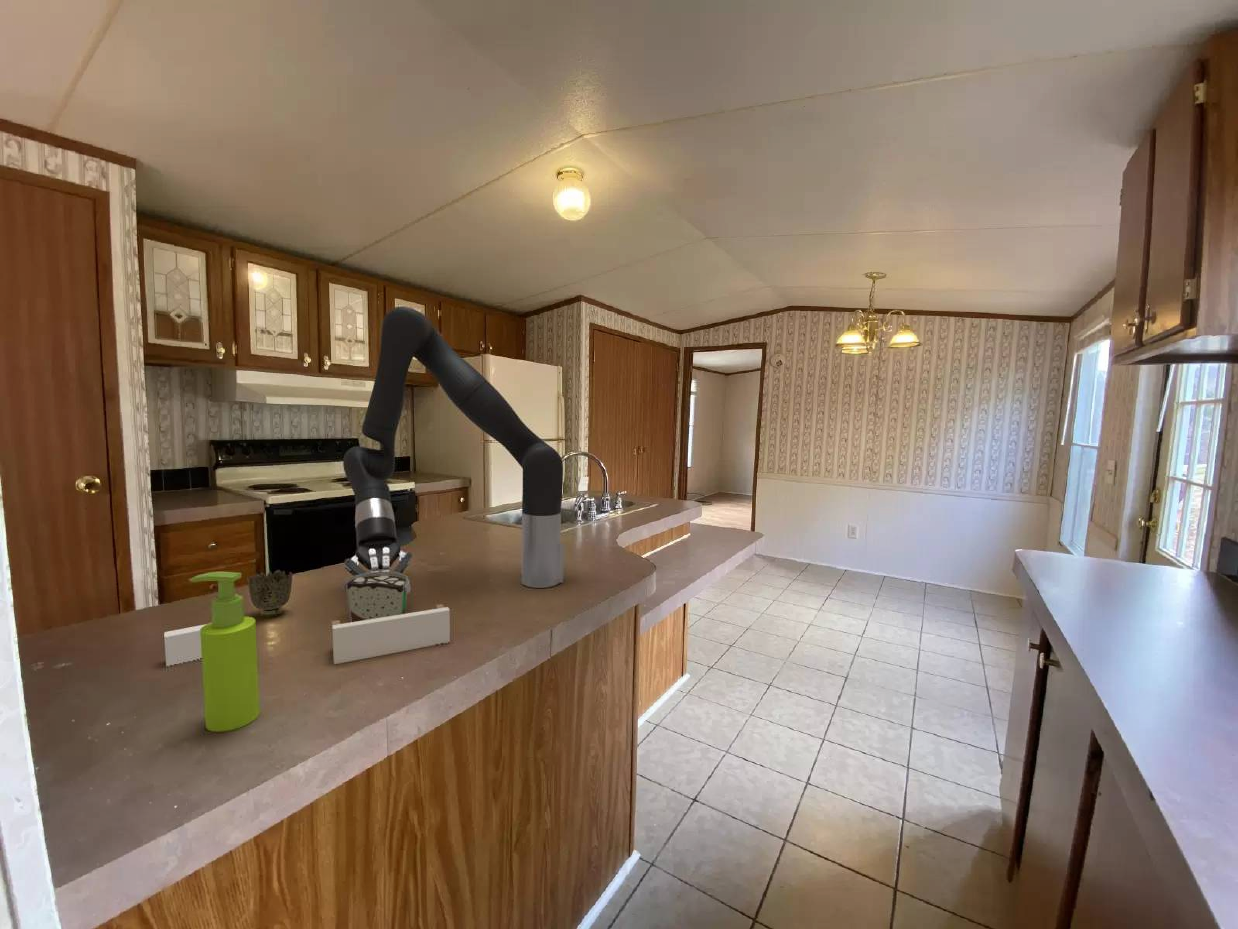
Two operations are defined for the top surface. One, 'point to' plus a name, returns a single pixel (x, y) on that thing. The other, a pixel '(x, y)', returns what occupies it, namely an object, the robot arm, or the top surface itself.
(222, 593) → the soap dispenser
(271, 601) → the cup
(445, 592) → the top surface
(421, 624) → the back stop bracket
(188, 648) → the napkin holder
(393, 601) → the food container
